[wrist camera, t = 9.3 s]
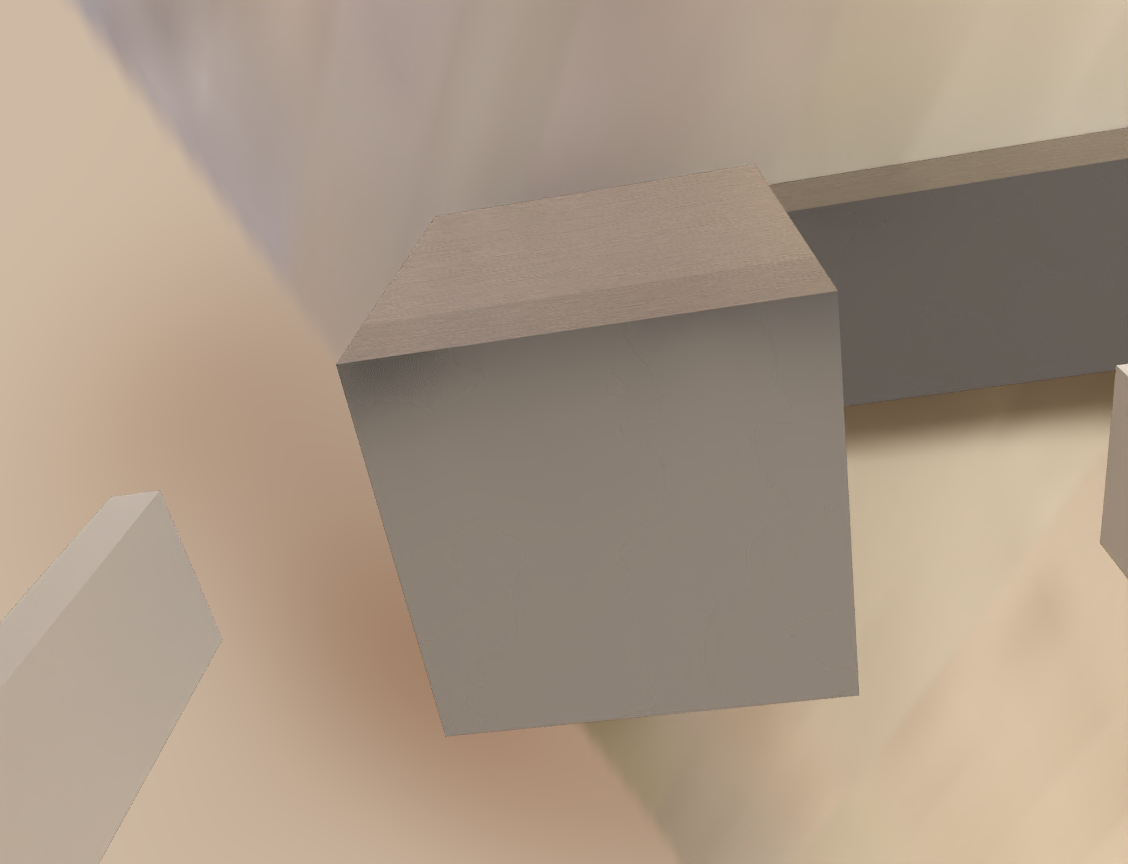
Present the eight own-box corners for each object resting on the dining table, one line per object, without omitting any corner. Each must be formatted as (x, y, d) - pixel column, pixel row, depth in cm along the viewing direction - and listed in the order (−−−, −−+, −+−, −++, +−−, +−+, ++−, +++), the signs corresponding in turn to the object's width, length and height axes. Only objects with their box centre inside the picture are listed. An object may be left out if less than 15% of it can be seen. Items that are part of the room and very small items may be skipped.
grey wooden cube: (435, 216, 20) (335, 364, 13) (754, 164, 19) (838, 290, 12) (498, 489, 23) (446, 736, 16) (779, 453, 22) (858, 695, 15)
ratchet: (514, 418, 25) (484, 562, 19) (471, 217, 23) (421, 310, 17) (1558, 276, 22) (1898, 393, 16) (1626, 29, 20) (2049, 63, 14)
